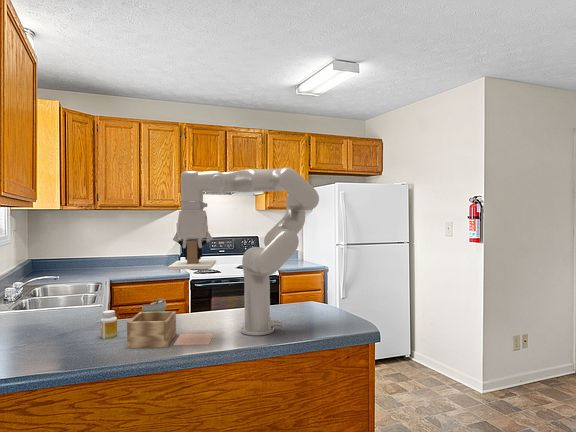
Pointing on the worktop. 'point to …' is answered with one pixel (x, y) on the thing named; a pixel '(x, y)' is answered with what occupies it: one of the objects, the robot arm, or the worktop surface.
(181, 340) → the plate
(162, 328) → the oak box
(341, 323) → the worktop surface
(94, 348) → the worktop surface
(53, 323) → the worktop surface
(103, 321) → the supplement bottle
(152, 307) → the food container
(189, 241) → the lid
